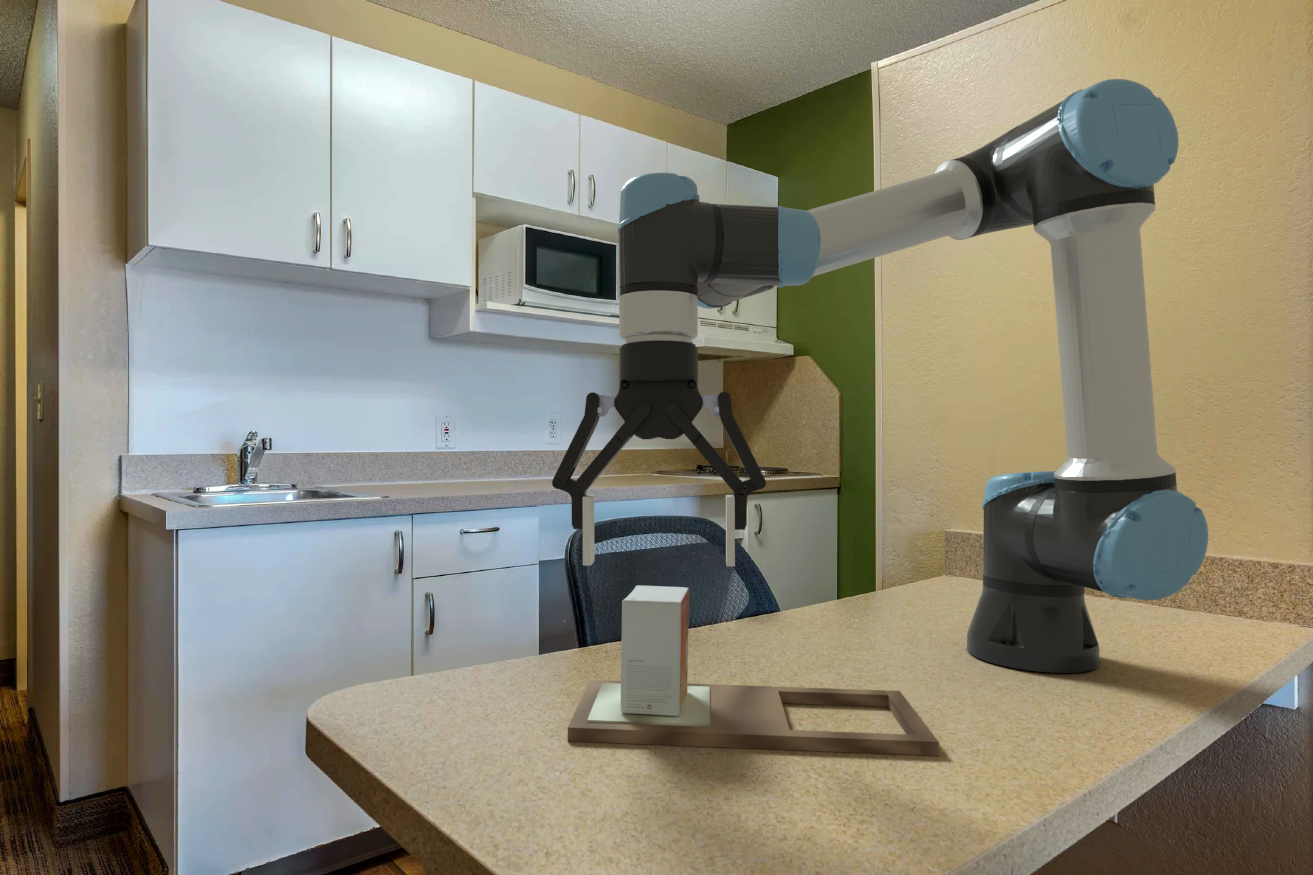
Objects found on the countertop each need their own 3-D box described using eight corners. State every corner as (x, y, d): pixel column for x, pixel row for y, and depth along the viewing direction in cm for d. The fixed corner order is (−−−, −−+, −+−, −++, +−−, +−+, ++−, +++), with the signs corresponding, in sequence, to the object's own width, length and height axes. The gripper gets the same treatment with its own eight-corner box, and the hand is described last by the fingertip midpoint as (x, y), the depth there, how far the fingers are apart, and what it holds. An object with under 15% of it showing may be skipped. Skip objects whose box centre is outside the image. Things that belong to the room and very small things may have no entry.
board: (899, 702, 84) (899, 688, 84) (938, 755, 70) (938, 739, 70) (589, 691, 86) (589, 677, 86) (567, 740, 72) (567, 725, 72)
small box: (679, 718, 74) (681, 602, 74) (618, 714, 75) (621, 599, 75) (688, 691, 82) (690, 586, 82) (633, 687, 83) (635, 583, 83)
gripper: (785, 345, 81) (786, 558, 81) (537, 347, 83) (538, 556, 83) (794, 336, 74) (794, 571, 74) (520, 339, 75) (521, 569, 75)
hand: (659, 564), depth 78 cm, fingers open, 13 cm apart
